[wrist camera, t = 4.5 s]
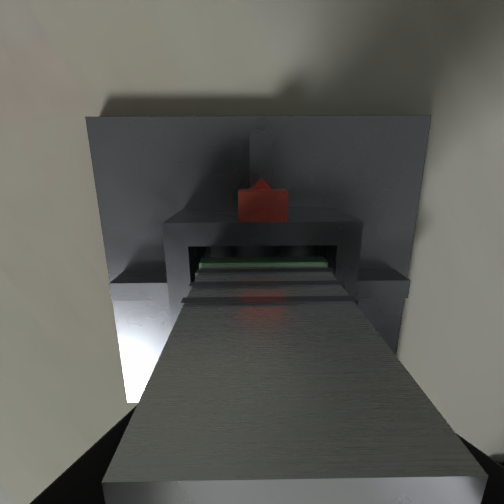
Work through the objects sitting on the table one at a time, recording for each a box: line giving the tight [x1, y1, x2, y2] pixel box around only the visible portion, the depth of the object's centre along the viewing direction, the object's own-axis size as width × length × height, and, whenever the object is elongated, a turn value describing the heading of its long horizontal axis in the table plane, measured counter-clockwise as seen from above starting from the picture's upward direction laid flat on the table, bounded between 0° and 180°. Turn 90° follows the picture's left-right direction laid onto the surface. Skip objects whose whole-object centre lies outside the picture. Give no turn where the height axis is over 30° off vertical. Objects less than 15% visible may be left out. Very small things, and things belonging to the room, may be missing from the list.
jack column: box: [101, 256, 488, 504], centre depth 7 cm, size 4×4×8 cm
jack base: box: [85, 115, 431, 403], centre depth 13 cm, size 14×14×4 cm
